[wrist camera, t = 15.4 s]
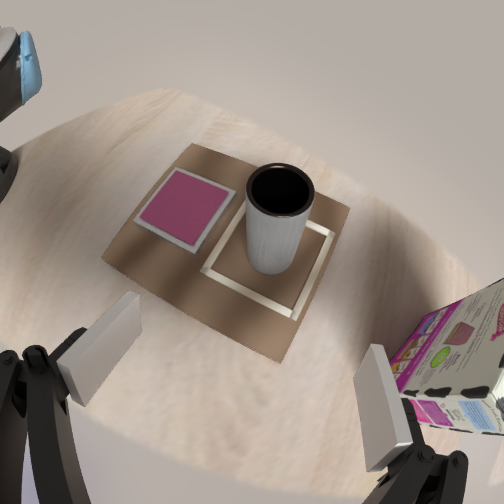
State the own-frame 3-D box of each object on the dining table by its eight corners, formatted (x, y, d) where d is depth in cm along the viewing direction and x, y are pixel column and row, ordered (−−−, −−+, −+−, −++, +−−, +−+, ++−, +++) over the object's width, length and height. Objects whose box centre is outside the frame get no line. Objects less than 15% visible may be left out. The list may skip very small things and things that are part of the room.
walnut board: (105, 261, 27) (100, 256, 26) (192, 148, 34) (191, 142, 33) (279, 363, 24) (281, 363, 22) (347, 212, 30) (350, 206, 29)
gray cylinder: (272, 224, 28) (282, 152, 19) (303, 255, 27) (329, 192, 17) (237, 250, 27) (231, 183, 18) (268, 284, 26) (278, 231, 16)
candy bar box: (389, 420, 21) (515, 441, 6) (361, 389, 22) (488, 394, 7) (449, 342, 24) (563, 300, 9) (426, 312, 25) (538, 251, 10)
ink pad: (136, 226, 28) (131, 219, 27) (177, 173, 31) (175, 164, 29) (196, 258, 27) (193, 252, 25) (236, 197, 29) (236, 189, 28)
